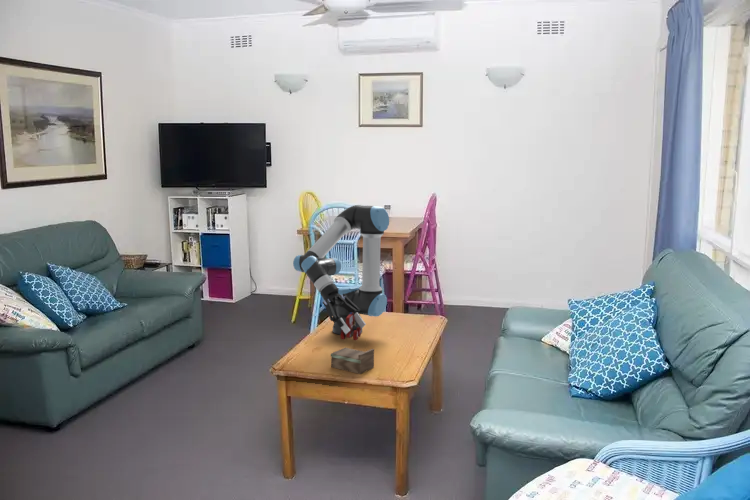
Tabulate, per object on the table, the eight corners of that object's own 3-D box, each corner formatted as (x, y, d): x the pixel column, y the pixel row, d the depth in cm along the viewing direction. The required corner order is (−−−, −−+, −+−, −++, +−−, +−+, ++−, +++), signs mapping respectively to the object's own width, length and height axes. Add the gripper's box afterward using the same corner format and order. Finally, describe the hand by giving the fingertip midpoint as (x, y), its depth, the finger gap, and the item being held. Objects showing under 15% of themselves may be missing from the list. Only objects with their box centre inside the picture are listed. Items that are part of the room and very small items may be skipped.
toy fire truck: (362, 334, 267) (362, 310, 266) (355, 342, 255) (356, 318, 254) (346, 333, 268) (346, 309, 267) (339, 341, 256) (339, 316, 255)
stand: (330, 367, 263) (330, 348, 261) (345, 360, 271) (345, 343, 270) (359, 374, 254) (360, 355, 253) (374, 367, 263) (374, 349, 262)
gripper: (338, 288, 277) (366, 328, 271) (304, 297, 258) (334, 340, 252) (347, 278, 273) (376, 318, 267) (314, 287, 254) (344, 330, 248)
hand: (356, 329), depth 259 cm, fingers closed on toy fire truck, 11 cm apart
